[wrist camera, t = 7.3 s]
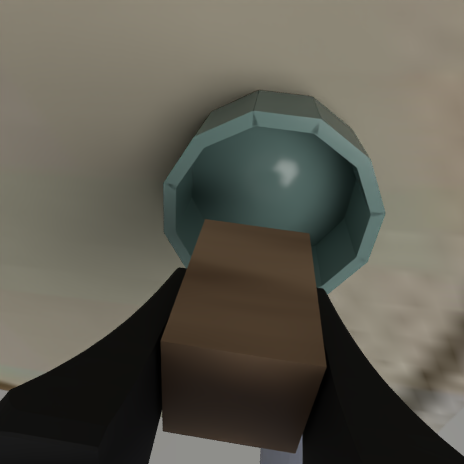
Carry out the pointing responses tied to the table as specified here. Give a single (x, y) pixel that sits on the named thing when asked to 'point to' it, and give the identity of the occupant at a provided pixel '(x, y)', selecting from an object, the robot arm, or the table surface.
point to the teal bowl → (278, 181)
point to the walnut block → (244, 339)
